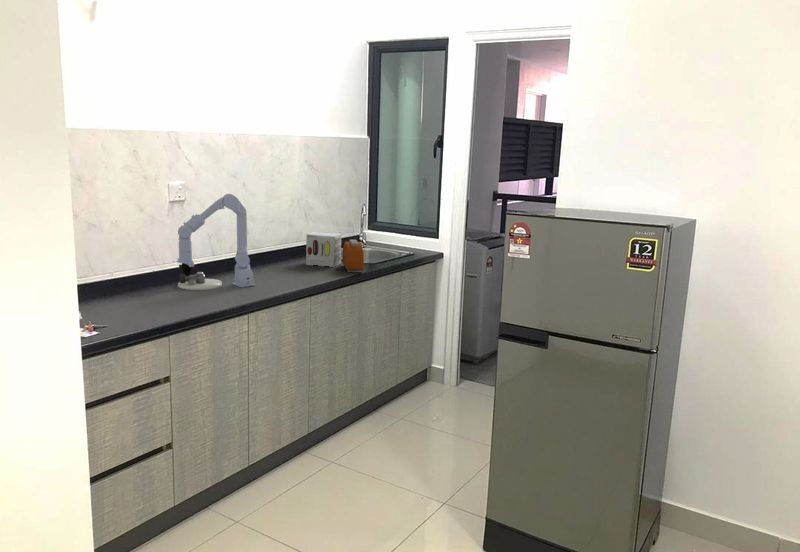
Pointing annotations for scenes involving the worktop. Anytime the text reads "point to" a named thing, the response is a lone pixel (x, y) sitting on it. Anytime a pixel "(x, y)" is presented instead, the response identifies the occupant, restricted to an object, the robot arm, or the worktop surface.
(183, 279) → the latch lever
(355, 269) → the orange plastic container
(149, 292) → the worktop surface
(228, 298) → the worktop surface
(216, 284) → the base
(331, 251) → the supplement box
